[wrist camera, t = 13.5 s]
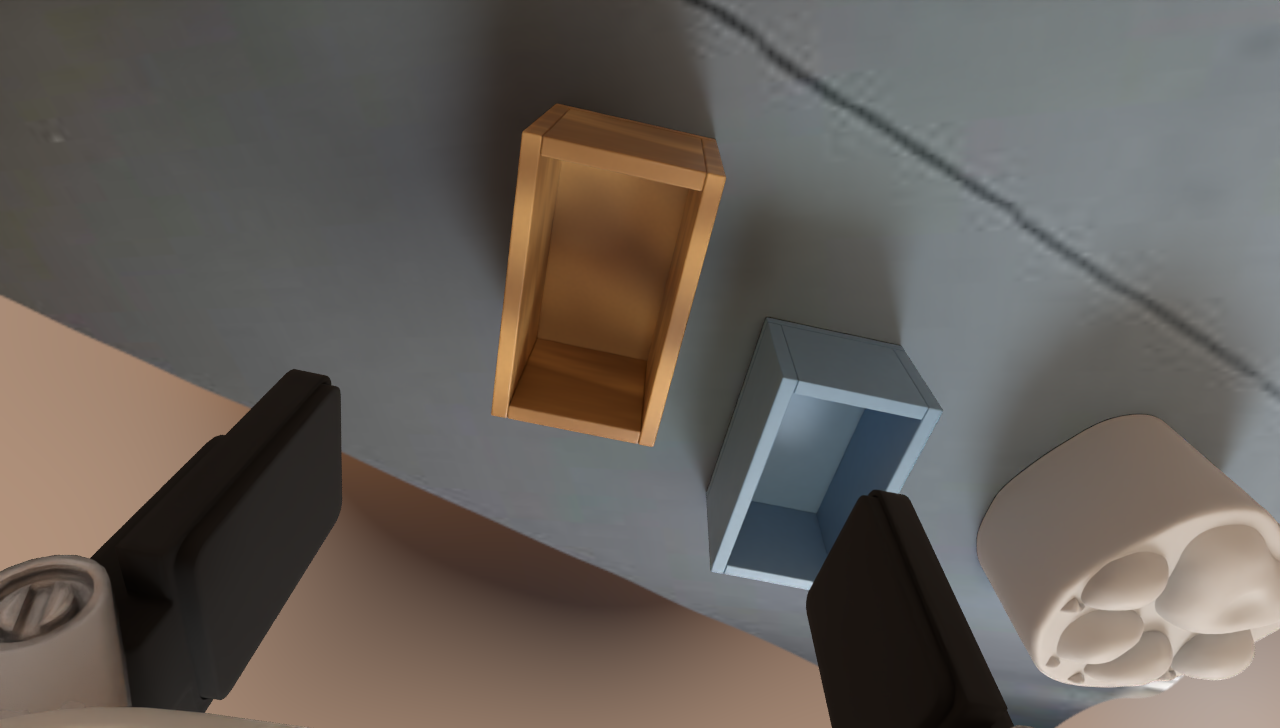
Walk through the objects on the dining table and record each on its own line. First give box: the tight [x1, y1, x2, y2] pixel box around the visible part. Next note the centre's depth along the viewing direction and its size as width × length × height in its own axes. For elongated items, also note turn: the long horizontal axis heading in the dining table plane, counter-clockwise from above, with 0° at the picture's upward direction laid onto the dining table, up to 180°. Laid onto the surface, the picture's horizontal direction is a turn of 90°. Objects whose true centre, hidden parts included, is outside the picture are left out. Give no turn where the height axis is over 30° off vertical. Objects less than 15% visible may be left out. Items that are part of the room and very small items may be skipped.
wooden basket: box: [491, 103, 726, 447], centre depth 28 cm, size 12×7×7 cm, turn 168°
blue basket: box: [706, 317, 943, 590], centre depth 33 cm, size 12×7×6 cm, turn 168°
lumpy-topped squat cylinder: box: [977, 414, 1280, 687], centre depth 34 cm, size 10×13×9 cm
